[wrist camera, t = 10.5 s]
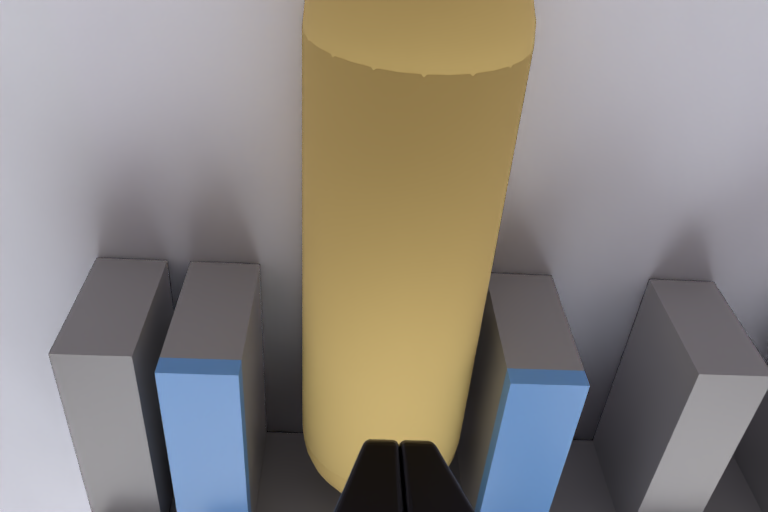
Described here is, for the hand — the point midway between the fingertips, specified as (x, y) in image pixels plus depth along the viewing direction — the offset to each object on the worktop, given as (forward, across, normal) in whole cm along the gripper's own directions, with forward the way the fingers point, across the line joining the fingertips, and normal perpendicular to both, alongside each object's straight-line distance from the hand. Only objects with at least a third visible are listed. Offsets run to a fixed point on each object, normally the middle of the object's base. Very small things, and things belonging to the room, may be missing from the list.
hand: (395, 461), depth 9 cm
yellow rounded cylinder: (+7, 0, +1) cm, 7 cm away
